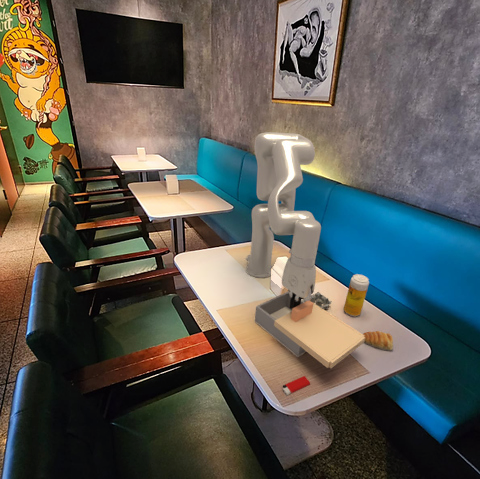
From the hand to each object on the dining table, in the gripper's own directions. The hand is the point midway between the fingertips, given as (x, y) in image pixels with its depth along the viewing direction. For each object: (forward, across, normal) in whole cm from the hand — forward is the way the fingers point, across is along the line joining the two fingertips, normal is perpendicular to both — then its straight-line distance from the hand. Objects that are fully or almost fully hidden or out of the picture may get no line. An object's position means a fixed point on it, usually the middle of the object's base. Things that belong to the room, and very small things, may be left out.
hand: (294, 307), depth 100 cm
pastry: (+9, +21, +19) cm, 30 cm away
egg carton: (+9, -3, +17) cm, 20 cm away
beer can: (+9, +7, +26) cm, 28 cm away
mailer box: (+9, 0, 0) cm, 9 cm away
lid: (+3, +10, 0) cm, 11 cm away
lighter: (+10, +16, -16) cm, 25 cm away
